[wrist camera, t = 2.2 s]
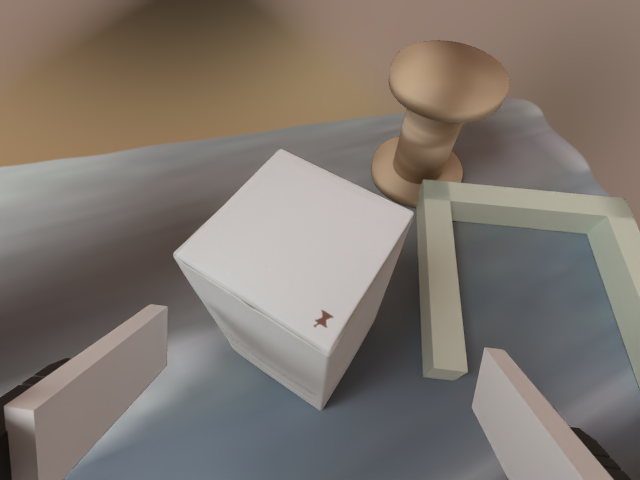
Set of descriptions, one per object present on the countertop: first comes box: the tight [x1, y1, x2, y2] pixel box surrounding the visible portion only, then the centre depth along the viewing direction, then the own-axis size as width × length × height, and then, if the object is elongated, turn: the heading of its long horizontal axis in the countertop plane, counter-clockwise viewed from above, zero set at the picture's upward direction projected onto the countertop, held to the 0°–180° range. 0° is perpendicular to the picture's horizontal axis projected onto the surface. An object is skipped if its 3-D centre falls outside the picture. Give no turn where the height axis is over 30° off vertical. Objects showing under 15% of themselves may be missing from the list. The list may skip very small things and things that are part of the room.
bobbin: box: [371, 40, 510, 208], centre depth 29 cm, size 8×8×10 cm
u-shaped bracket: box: [416, 179, 640, 388], centre depth 26 cm, size 16×15×2 cm
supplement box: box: [173, 149, 414, 411], centre depth 20 cm, size 7×7×13 cm
